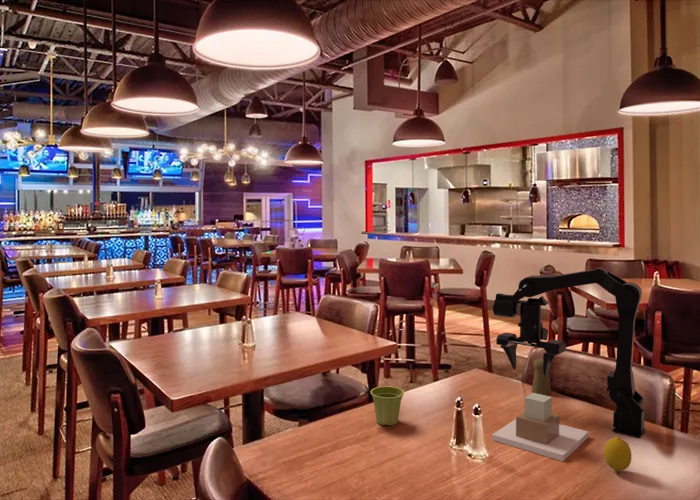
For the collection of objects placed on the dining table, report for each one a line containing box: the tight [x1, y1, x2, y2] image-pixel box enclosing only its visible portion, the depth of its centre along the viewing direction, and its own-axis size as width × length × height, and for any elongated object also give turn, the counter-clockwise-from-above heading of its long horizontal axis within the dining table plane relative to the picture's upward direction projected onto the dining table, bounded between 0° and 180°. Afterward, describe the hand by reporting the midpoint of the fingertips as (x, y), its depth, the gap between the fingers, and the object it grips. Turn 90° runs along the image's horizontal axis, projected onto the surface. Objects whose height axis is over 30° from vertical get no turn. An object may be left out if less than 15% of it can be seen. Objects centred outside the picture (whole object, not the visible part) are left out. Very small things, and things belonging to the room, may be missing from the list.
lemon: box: [603, 436, 632, 473], centre depth 119 cm, size 6×6×8 cm
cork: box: [531, 358, 552, 396], centre depth 172 cm, size 6×6×11 cm
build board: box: [491, 411, 590, 462], centre depth 137 cm, size 18×18×6 cm
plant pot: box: [370, 385, 405, 426], centre depth 149 cm, size 9×9×9 cm
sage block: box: [523, 392, 553, 422], centre depth 135 cm, size 5×5×5 cm
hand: (529, 371), depth 155 cm, fingers open, 9 cm apart
